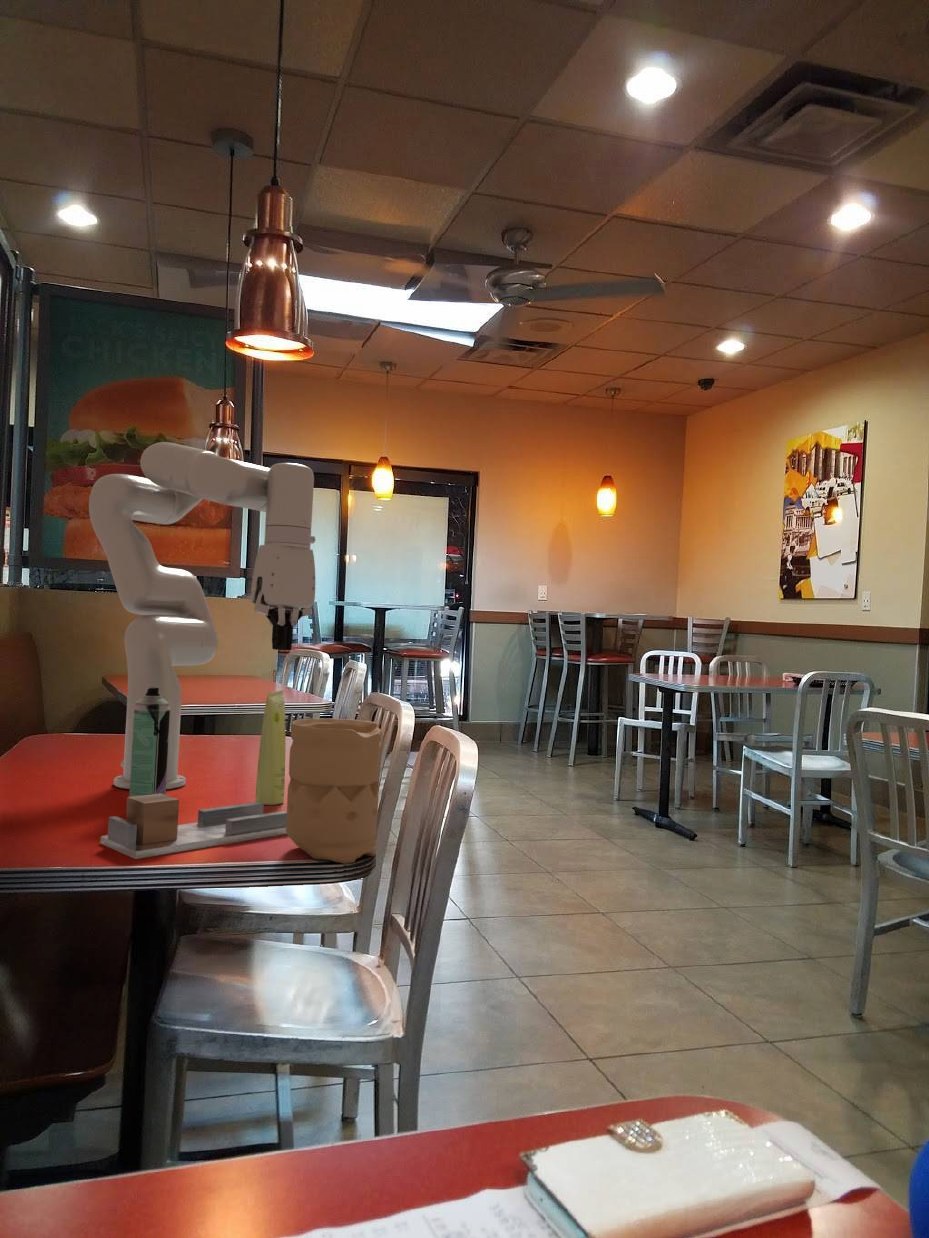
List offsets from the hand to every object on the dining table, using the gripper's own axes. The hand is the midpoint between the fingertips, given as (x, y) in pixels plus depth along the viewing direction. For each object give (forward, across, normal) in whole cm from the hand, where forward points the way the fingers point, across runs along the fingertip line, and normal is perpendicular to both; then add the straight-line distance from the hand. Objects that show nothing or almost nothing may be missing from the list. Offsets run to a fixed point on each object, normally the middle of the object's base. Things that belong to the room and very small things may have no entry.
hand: (281, 649), depth 145 cm
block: (+26, +26, +8) cm, 37 cm away
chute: (+27, +18, +8) cm, 33 cm away
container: (+27, +8, +25) cm, 38 cm away
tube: (+27, -4, -7) cm, 28 cm away
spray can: (+27, +16, -12) cm, 34 cm away
